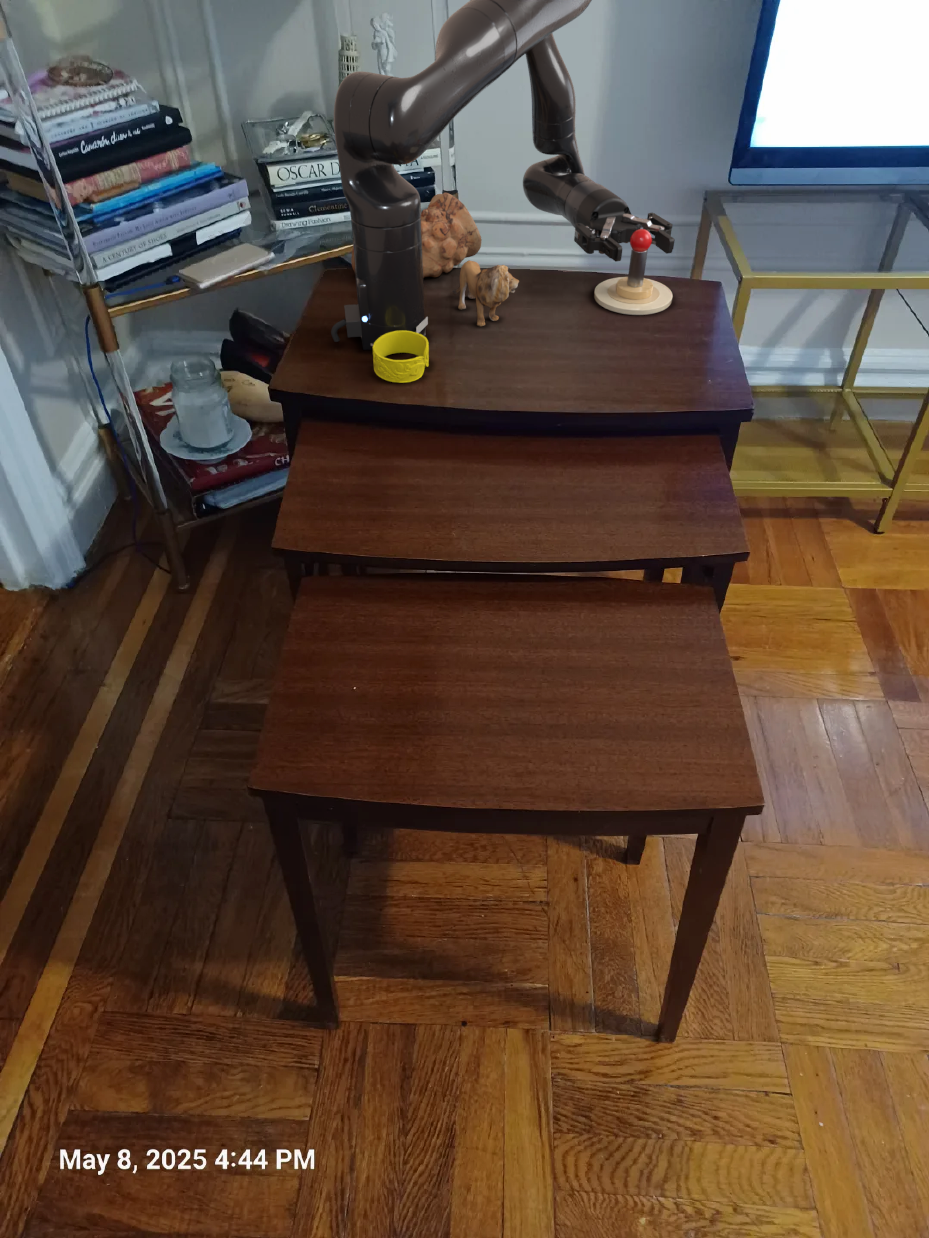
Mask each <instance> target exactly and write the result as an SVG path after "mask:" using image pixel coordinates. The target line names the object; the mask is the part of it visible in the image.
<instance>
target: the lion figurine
mask: <svg viewBox="0 0 929 1238" xmlns="http://www.w3.org/2000/svg"><path fill="white" fill-rule="evenodd" d="M519 283H520V280H519V279H517V278H515V277H514V276H513V275H512V273H510V272H509V267H508V266H507V265H505V264H501V265H500V264H497V265H494V266H490V267H488V268H486V269H485V268H484V269H481V265H480V264H479V263H478V262H477V261H474V260H469V259H468V260H467V261H466V262H464V263H463V264H462V266H461V268H460V271H459V287H457V288H455V289H452V293H453V294H455V295H456V294H459V301H458V307H457V308H458V310H465V309H467V306H466V303H465V297H466V295H465V294H466V290H467V298H468V299H470V300H474V299H475V306H476V317H477V320H476V326H478V327H484V326H486V322H485V321H486V319H485V316H484V315H485V314H484V311H485V310H484V309H485V307H487V308H489V311H488V312H489V313H488V317H489V320H491V321H493V322H497V321H498V320H499V318H500V316H498V315H496V310H497V307H499V306H500V305H501V304H502V303H503V302H505V301H506V300H507V299H508V298H509V296H510V295H509V294H510V293H512V294H515V292H516V289H517V288H518V287H519V286H518V285H519ZM467 287H468V288H467Z"/></svg>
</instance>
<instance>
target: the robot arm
mask: <svg viewBox="0 0 929 1238" xmlns="http://www.w3.org/2000/svg"><path fill="white" fill-rule="evenodd" d="M592 1H593V0H468V1H467V2H466V3H465V4H463V5H462V6H461V7H460V8H458V9H457V10H455V12H453V13H452V14H451V15H450V16H449V17H448V18H447V19H446V20H445V22H444V23H443V24H442V25H441V28H440V30H439V32H438V35H437V38H436V41H435V48H434V61H433V62H432V63H431V64H429V65H428V67H426V68H425V69H423V70H422V71H420V72H418V73H416V74H415V75H413V76H410V77H398V76H392V75H388V74H381V73H375V72H370V71H363V70H361V71H354V72H351V73H349V74H347V75H346V76H345V77H344V78H343V79H342V81H341V82H340V84H339V86H338V89H337V91H336V95H335V99H334V105H333V132H334V140H335V146H336V147H335V148H336V154H337V160H338V169H339V175H340V183H341V188H342V189H341V190H342V192H343V195H344V198H345V200H346V202H347V204H348V207H349V213H350V215H349V216H350V225H351V233H352V234H351V236H352V248H354V259H355V272H354V277H355V287H356V299H357V304H355V303H354V304H343V307H344V316H345V317H344V318H343V319H341V320H339V321H338V322H336V323H335V324H334V325H333V326H332V327H331V330H330V334H331V338H332V339H333V342H335V343H338V342H340V341H341V339H340V336H339V334H338V331H339V330H340V329H341V328H343V327H346V336H347V338H358V337H359V338H360V341H361V346H362V350H363V351H373V344H374V342H375V341H376V340H377V339H378V338H379V337H381V336H382V335H384V334H386V333H389V332H393V331H401V330H404V331H412V332H416V333H419V334H421V335H423V336H425V337H426V338H427V330H426V327H427V326H428V324H429V317H428V315H427V316H426V317H425V315H426V314H425V292H424V291H425V289H424V287H425V285H424V278H423V257H422V229H421V212H422V208H421V207H422V205H421V204H422V203H421V197H420V193H419V191H418V190H417V188H416V187H414V185H412V184H411V183H410V182H409V181H407V180H406V179H405V178H404V177H403V176H402V175H401V174H400V173H399V172H398V171H397V169H396V168H395V166H397V165H398V166H402V165H403V166H404V165H408V164H411V163H413V162H415V161H416V160H417V159H419V158H420V157H421V156H422V155H423V154H424V153H425V152H427V150H428V149H429V148H430V147H431V145H433V143H434V142H435V141H436V140H437V139H438V137H439V136H440V135H441V133H443V132H444V131H445V129H447V127H448V125H449V124H450V123H451V122H452V121H453V120H454V119H455V117H457V115H459V113H461V112H462V110H463V109H465V108H466V107H467V106H468V105H469V104H470V103H471V102H472V101H473V100H474V99H475V98H476V97H478V95H480V94H481V93H482V92H483V91H485V90H486V89H487V88H488V87H489V86H491V85H492V84H494V82H496V81H497V80H498V79H499V78H500V77H501V76H502V75H504V74H506V72H507V71H508V70H509V69H510V68H511V67H512V66H513V65H514V64H516V63H517V62H518V60H519V59H521V58H522V57H523V56H525V59H526V64H527V70H528V76H529V83H530V93H531V95H530V96H531V97H530V98H531V125H532V126H531V128H532V131H531V133H532V142H533V147H534V148H535V149H536V151H538V152H539V153H541V154H544V155H549V156H552V157H549V158H547V159H543V160H541V161H537V162H535V163H533V164H531V165H530V166H528V168H527V169H526V170H525V172H524V174H523V178H522V189H523V193H524V195H525V197H526V199H527V201H528V202H529V203H530V204H531V205H532V206H533V207H534V208H535V209H538V210H540V211H542V212H545V213H548V214H553V215H557V216H562V217H563V218H564V219H566V220H567V222H569V223H570V224H571V226H572V227H573V228H574V237H573V241H574V242H575V244H576V245H578V246H579V248H581V249H582V250H583V251H584V252H585V253H586V254H588V255H593V254H594V253H595V251H598V254H601V255H605V256H606V257H608V258H609V259H611V260H613V261H614V262H621V261H622V258H623V246H622V245H621V244H623V243H624V244H628V243H630V238H631V235H632V234H633V233H634V232H635V231H636V230H639V229H645V230H647V231H648V232H649V233H650V234H651V236H652V235H653V236H654V237H652V243H651V245H654V246H656V248H658V249H659V250H660V251H662V252H664V253H665V254H672V253H673V250H674V246H675V240H676V239H675V238H674V237H673V236H672V230H673V227H674V224H673V223H671V222H669V221H668V220H666V219H665V218H664V217H662V216H660V215H658V214H657V213H654V212H648V213H647V218H641V217H639V216H636V215H634V214H632V212H631V210H630V207H629V205H628V204H627V202H626V201H625V200H624V199H622V198H621V197H620V196H618V195H616V194H615V193H614V192H612V191H611V190H610V189H609V188H607V187H605V186H604V185H602V184H601V183H597V182H595V181H594V180H593V179H592V178H590V177H588V176H587V175H585V174H586V173H585V169H584V166H583V162H582V159H581V156H580V152H579V146H578V142H577V136H576V117H577V116H576V113H577V109H576V108H577V100H576V94H575V93H576V92H575V88H574V87H575V86H574V84H573V80H572V77H571V75H570V73H569V70H568V68H567V66H566V64H565V62H564V60H563V57H562V55H561V53H560V50H559V48H558V45H557V43H556V40H555V37H554V34H553V33H554V32H556V31H558V30H559V29H561V28H562V27H564V26H567V25H568V24H569V23H571V22H573V21H574V20H575V19H577V18H578V17H580V16H581V15H582V14H583V13H584V12H585V11H586V10H587V8H588V7H589V6H590V4H591V3H592ZM394 165H395V166H394Z"/></svg>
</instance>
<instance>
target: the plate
mask: <svg viewBox="0 0 929 1238" xmlns="http://www.w3.org/2000/svg"><path fill="white" fill-rule="evenodd" d="M626 277H627V276H618V277H613V278H609V279H605V280H603V281H601V282H599V283H598V284H597V285H596V286H595V288H594V290H593V291H594V292H593V298H594V301H595V302H596V303H597V304H598V305H599V306H600V307H603V308H604V309H606V310H607V311H611V312H614V313H618V314H623V315H631V316H644V315H645V316H646V315H653V314H656V313H660V312H663V311H665V310H666V309H668V308H669V307H670V306H671V304H672V302H673V297H674V296H673V292H672V291H671V289H670V288H669V287H668V286H667V285H665V284H664V283H661V282H659V281H656V280H654V279H651V278H645V277H644V279H647V280H649V281H651V282H652V283H653V292H652V295H651V296H650V297H648V298H645V299H638V300H635V299H627V298H624V297H621V296H619V295H618V294H617V293H616V285H617V282H618V280H620V279H622V278H626Z"/></svg>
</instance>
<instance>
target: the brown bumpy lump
mask: <svg viewBox="0 0 929 1238" xmlns="http://www.w3.org/2000/svg"><path fill="white" fill-rule="evenodd" d="M477 226H478V225H477V224H476V222H475V220H474V218H473V216H472V215H471V213H470V211H469V210H468V208H467V206H466V205H465V204H464V203H463V202H462V201H461V200H460V199H458V198H457V197H456V196H454V195H453V194H450V193H448V192H443V193H437V194H435V195H434V196H433V197H432V198H431V199H430V202H429V204H428V206H427V208H424V209H423V210H421V229H422V257H423V279H424V278H429V277H431V278H438V277H440V276H441V275H442V274H443V273H446V274H447V273H450V272H451V271H452V270H453V269H454V267H456V266H459V265H460V264H461V263H462V262H463V261H464V260H465V259H466V258H467V259H468V258H470V257H474V256H476V255H477V254H478V253H479V252H480V250H481V247H482V242H483V241H482V240H483V239H482V236H481V232H480V230H479V228H478V227H477ZM350 263H351V268H352V270H353V272H354V273H355V259H354V248H353V247H352V249H351V260H350Z"/></svg>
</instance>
